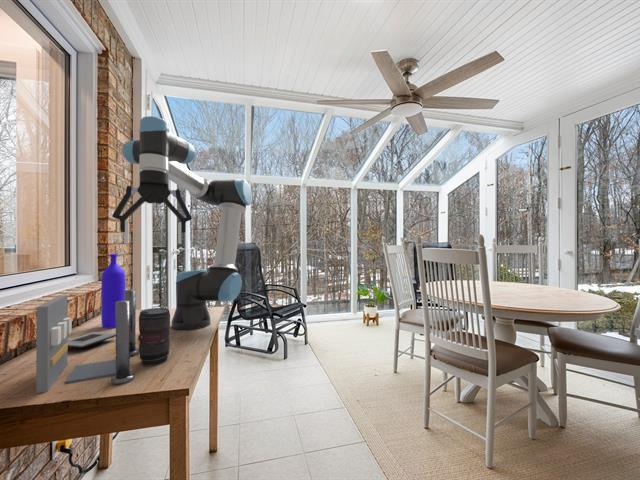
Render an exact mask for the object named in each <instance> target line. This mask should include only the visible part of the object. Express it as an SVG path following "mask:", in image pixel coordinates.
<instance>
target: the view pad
mask: <svg viewBox="0 0 640 480" xmlns="http://www.w3.org/2000/svg"><path fill="white" fill-rule="evenodd" d="M114 375H116V359H110V360H105V361H97V362H92V363H83V364H78V365H77V364H76V365H74V367H73V369H72V371H71V372H70V373H69V375H68V377H67V378H66V379H65V381H64V385H66V384H71V383H76V382H82V381H83V382H84V381H89V380H94V379H95V380H96V379H102V378H106V377H113V376H114Z"/></svg>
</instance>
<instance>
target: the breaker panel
mask: <svg viewBox="0 0 640 480" xmlns="http://www.w3.org/2000/svg"><path fill="white" fill-rule="evenodd" d="M35 312H36V317H35V318H36V319H35V320H36V323H35V324H36V325H35V327H36V331H35V332H36V342H35V343H36V344H35V345H36V349H35V350H36V352H35V353H36V361H35V363H36V366H35V367H36V370H35V371H36V373H35V375H36V376H35V377H36V379H35V381H36V383H35V384H36V386H35V388H36V389H35V391H36V393H37V394H41V392H42V393H47V391H48V392H49V390H50V389H51V388H52V386H53V385H54V384H55V382H56V381H57V380H58V379H59V377H60V376H61V374H62V373H63V372H64V370H65V369H66V368H67V367H68V349H69V347H68V343H67V340H68V335H70V334H71V333H72V331H73V329H72V327H73V326H72V323H73V321H72V317H68V294H66V295H64V294H63V295H62V294H61V295H57V296H55V297H53V298H51V299H49V300H47V301H46V302H44V303H42V304H39V305H38V306H36V311H35Z"/></svg>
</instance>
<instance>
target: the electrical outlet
mask: <svg viewBox="0 0 640 480" xmlns="http://www.w3.org/2000/svg"><path fill="white" fill-rule="evenodd" d="M112 338H116V332H99V331H92V332H89V333H86V334H82V335H79V336H77V337H73V338H70V339H67V343H68V348H71V349H82V350H83V349H85V348H87V347H90V346H93V345H95V344H98V343H102V342H104V341H107V340H109V339H112Z"/></svg>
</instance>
